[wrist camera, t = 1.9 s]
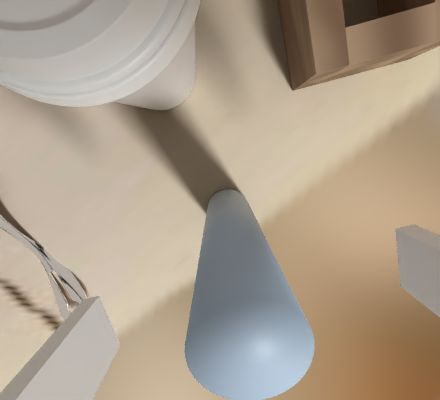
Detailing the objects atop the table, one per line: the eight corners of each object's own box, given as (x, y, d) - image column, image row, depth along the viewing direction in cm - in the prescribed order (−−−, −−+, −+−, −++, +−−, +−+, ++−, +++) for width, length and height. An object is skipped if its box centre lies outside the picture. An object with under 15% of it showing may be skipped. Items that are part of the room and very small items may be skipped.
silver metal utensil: (88, 329, 22) (48, 350, 22) (107, 304, 25) (72, 323, 26) (-58, 136, 19) (-100, 166, 19) (-13, 139, 22) (-49, 164, 23)
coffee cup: (117, -17, 18) (-277, -636, 4) (230, 31, 19) (270, -323, 5) (90, 105, 20) (-229, 12, 6) (193, 144, 21) (140, 145, 7)
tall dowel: (213, 232, 23) (204, 411, 8) (203, 194, 22) (168, 311, 7) (252, 223, 23) (323, 387, 8) (243, 184, 22) (302, 281, 7)
